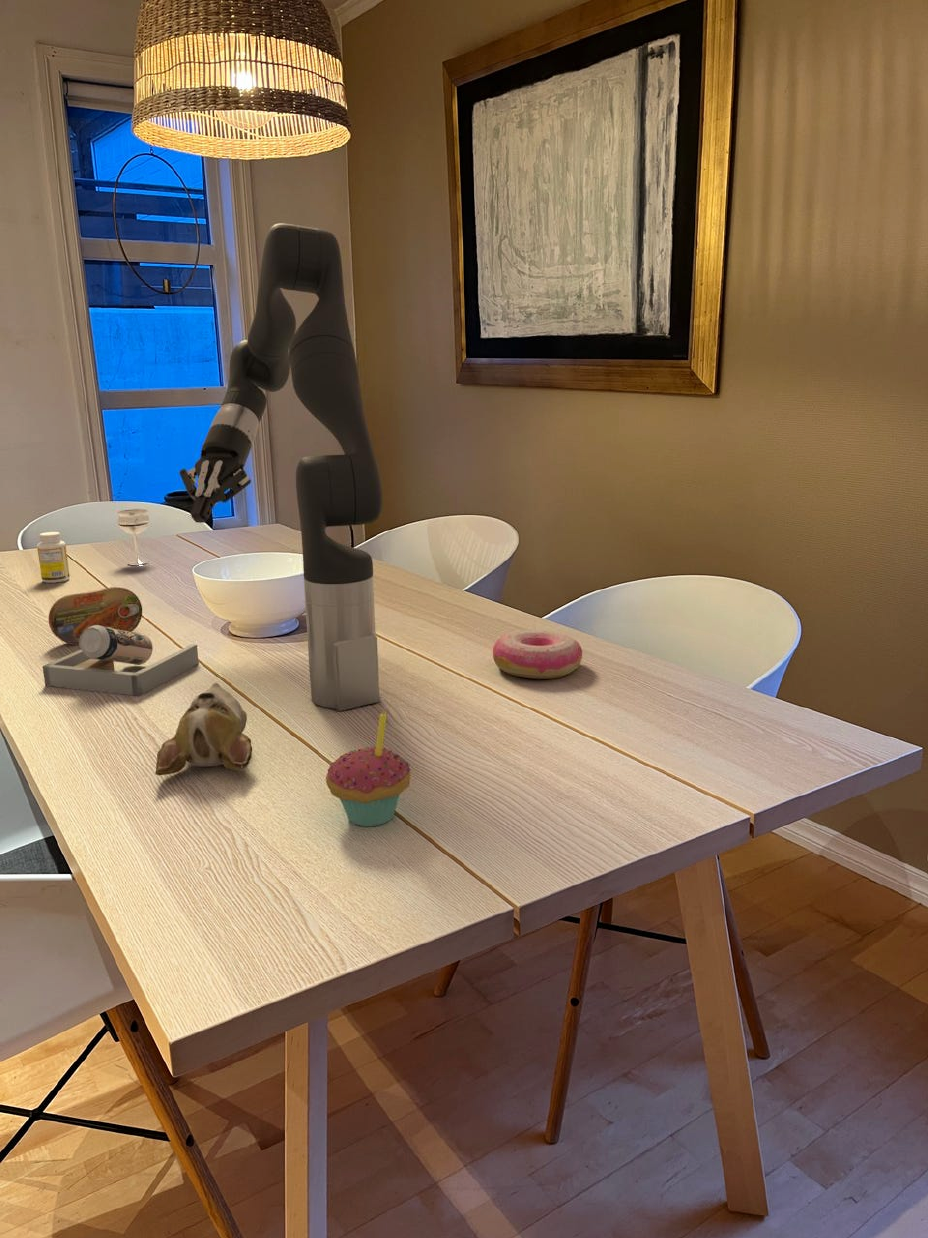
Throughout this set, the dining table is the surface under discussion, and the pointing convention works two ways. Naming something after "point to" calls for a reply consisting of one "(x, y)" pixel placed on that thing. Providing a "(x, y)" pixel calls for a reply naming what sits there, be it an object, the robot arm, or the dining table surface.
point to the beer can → (115, 645)
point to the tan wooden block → (97, 664)
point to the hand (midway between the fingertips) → (197, 519)
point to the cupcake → (369, 781)
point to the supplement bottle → (53, 558)
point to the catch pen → (117, 673)
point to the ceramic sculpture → (208, 735)
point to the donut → (537, 654)
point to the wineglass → (134, 525)
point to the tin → (94, 612)
